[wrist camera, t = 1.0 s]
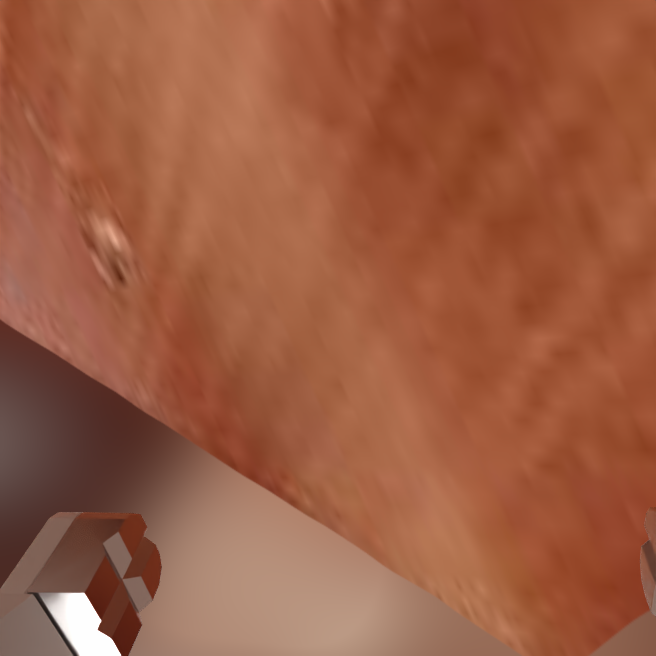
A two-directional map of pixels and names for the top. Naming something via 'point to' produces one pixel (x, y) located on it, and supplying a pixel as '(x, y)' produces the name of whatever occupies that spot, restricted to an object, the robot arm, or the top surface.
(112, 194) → the top surface
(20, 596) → the robot arm
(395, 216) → the top surface
